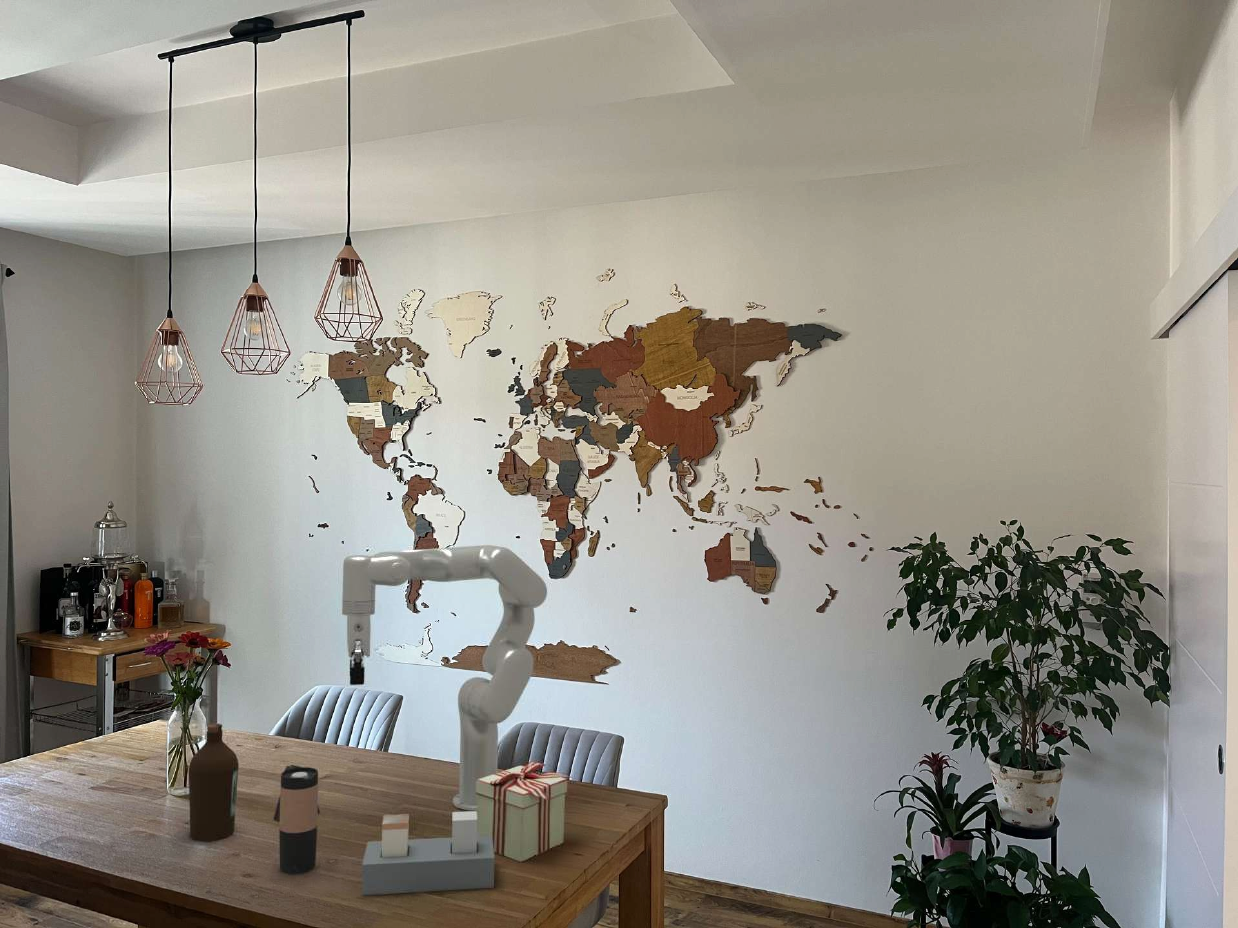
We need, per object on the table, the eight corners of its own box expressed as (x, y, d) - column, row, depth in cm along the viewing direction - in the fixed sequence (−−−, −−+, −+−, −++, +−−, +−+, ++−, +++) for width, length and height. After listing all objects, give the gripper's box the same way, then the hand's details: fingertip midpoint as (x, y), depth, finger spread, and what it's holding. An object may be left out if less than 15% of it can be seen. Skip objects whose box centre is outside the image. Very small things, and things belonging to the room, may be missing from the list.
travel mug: (284, 860, 202) (285, 766, 203) (320, 859, 203) (322, 766, 203) (274, 875, 195) (276, 778, 195) (311, 874, 195) (313, 777, 196)
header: (491, 863, 202) (492, 804, 203) (493, 887, 191) (495, 824, 191) (367, 870, 198) (368, 809, 198) (361, 895, 186) (362, 831, 186)
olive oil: (187, 845, 209) (190, 733, 210) (186, 829, 219) (188, 721, 219) (238, 838, 214) (241, 728, 215) (235, 822, 224) (237, 717, 224)
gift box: (536, 867, 201) (537, 786, 201) (470, 848, 210) (471, 771, 211) (581, 842, 215) (582, 766, 215) (517, 825, 225) (518, 753, 225)
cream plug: (407, 871, 196) (409, 813, 196) (406, 882, 191) (407, 822, 191) (382, 873, 195) (383, 814, 195) (380, 883, 190) (382, 823, 190)
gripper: (376, 612, 216) (374, 687, 215) (373, 602, 232) (372, 672, 232) (342, 612, 214) (340, 688, 213) (342, 603, 230) (340, 673, 230)
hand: (356, 680), depth 223 cm, fingers open, 9 cm apart
